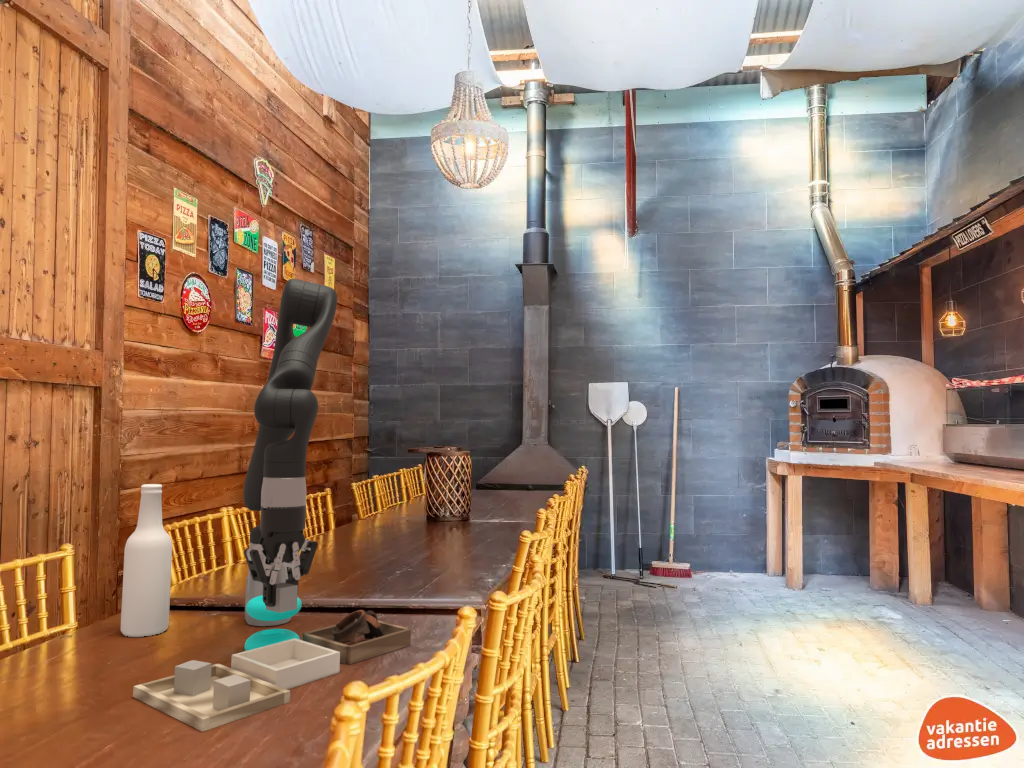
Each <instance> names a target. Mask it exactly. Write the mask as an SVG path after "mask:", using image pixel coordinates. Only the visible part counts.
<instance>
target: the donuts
mask: <svg viewBox="0 0 1024 768" xmlns="http://www.w3.org/2000/svg"><path fill="white" fill-rule="evenodd" d="M301 609H302V600H301V598H299V596H298V597H297V609H294V610H290V611H285V612H281V613H279V612H274V611H270V610H266V605H265V603H264V602H263V595H261V596H257V597H254V598H252V599H251V600H250V601H249V602H248V603H247V606H246V611H247V613H248V614H249V615H250V616H251V617H252V618H254V619H257V620H262V621H277V620H283V619H287V618H290V617H291V618H292V617H294V616H295V615H297V614H298V613H299V612H300V610H301ZM294 638H296V639H299V640H301V637H300V636H299V635H298V634H297V633H296V632H295V631H294V630H290V629H286V628H268V629H262V630H259V631H256V632H254V633H253V634H251V635H250V636H249V637H247V638H246V640H245V643H244V651H248V650H252V649H256V648H260V647H264V646H267V645H271V644H275V643H279V642H283V641H287V640H290V639H294Z"/></svg>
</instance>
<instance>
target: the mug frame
mask: <svg viewBox="0 0 1024 768" xmlns="http://www.w3.org/2000/svg"><path fill="white" fill-rule="evenodd" d="M355 621H357V619H355ZM355 621H354V622H355ZM354 622H352V623H350V624H349V625H347V626H346V627H344V629H345V628H347V627H348V626H350V625H352V624H353V623H354ZM378 622H379V623H380V626H381V628H382V630H383V634H384V636H381V637H377V638H376V636H375V637H374V638H373V639H366V640H365V641H360V642H357V643H352V644H351V645H349V644H347V643H345V644H342V643H339V642H336V641H333V638H334V636H333V634H332V633H331V631H332V629H333V628H334V627H335V628H336V629H338V628H337V627H336V624H333V625H329V626H326V627H322V628H317V629H314V630H310V631H305V632H302V641H306V642H309V643H312V644H315V645H319V646H322V647H325V648H328V649H332V650H335V651H338V652H340V663H341V664H344V665H345V664H348V665H353V664H357V663H359V662H362V661H365V660H368V659H372V658H375V657H378V656H381V655H383V654H384V655H385V654H387V653H390V652H393V651H397V650H400V649H405V648H406V647H410V646H411V645H412V643H411V639H412V638H411V637H412V636H411V634H412V633H411V632H412V630H411V629H410V628H409V627H405V626H402V625H398V624H393V623H390V622H386V621H383V620H378ZM361 635H364V634H363V633H362V634H360V633H357V632H355V637H358V636H361Z"/></svg>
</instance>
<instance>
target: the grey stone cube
mask: <svg viewBox="0 0 1024 768" xmlns="http://www.w3.org/2000/svg"><path fill="white" fill-rule="evenodd" d="M211 665H213V663H211V662H206V661H200V660H195V659H192V660H189V661H186V662H183V663H181V664H178V665H175V666H174V693H178V694H183V695H188V696H196V695H198V694H200V693H203V692H205V691H207V690H210V689H211Z"/></svg>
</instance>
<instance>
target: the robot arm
mask: <svg viewBox="0 0 1024 768" xmlns="http://www.w3.org/2000/svg"><path fill="white" fill-rule="evenodd" d="M337 305H338V293H337V291H336V290H335V289H334V288H333V287H330V286H328V285H324V284H319V283H314V282H311V281H306V280H302V279H297V278H290V279H288V280H287V281H286V283H285V284H284V287H283V290H282V293H281V298H280V304H279V313H278V318H277V326H276V327H277V328H276V335H275V342H274V349H273V354H272V360H271V363H270V368H269V371H268V372H269V373H268V376H267V381H266V383H265V385H264V386H263V387H262V389H261V390H260V391H259V392H258V395H257V397H256V400H255V402H254V408H253V413H254V417H255V420H256V421H257V423H258V424H259V425H258V430H257V436H256V438H255V443H254V447H253V451H252V453H251V457H250V460H249V461H250V462H249V464H248V468H247V471H246V475H245V478H244V484H243V494H242V495H243V496H242V498H243V503H244V505H245V507H246V508H247V509H248V510H249V511H251V512H252V511H254V512H260V515H259V516H260V518H259V519H260V520H259V521H260V522H259V525H256V526H254V527H253V528H252V529H250V532H249V547H248V548H247V547H246V548H245V549H244V550H243V554H244V557H245V560H246V564H247V566H248V575H247V576H246V578H245V600H244V601H245V603H244V604H245V605H244V620H245V621H246V623H247V624H248V625H250V626H255V627H272V626H279V625H283V624H286V623H289V622H290V621H291V620H292V617H290V618H287V619H283V620H277V621H262V620H257V619H254V618H252V617H251V616H250V615H249V614H248V613H247V611H246V606H247V603H248V602H249V601H250V600H251V599H252V598H254V597H257V596H261V595H263V602H264V603H265V605H266V606H269V607H273V606H275V605H276V587H277V584H278V583H288V584H294V585H298V586H299V582H300V581H299V580H300V579H301V577H303V576H306V575H308V574H309V573H310V570H311V567H312V564H313V560H314V557H315V554H316V552H317V549H318V546H319V543H318V541H314V540H310V539H309V540H308V539H306V537H305V535H304V530H305V529H306V518H307V517H306V516H307V515H306V514H307V482H306V475H307V474H306V472H307V471H306V468H307V453H308V446H309V443H310V437H311V434H312V431H313V427H314V425H315V422H316V419H317V416H318V412H319V402H318V398H317V396H316V395H315V393H314V392H313V391H312V387H313V384H314V380H315V376H316V371H317V367H318V361H319V358H320V355H321V353H322V351H323V349H324V346H325V344H326V341H327V338H328V336H329V334H330V331H331V329H332V325H333V323H334V319H335V315H336V312H337ZM294 325H298V326H303V327H307V328H308V329H307V330H305V331H304V332H303V333H300V334H299V335H297V336H296V337H294Z"/></svg>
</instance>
